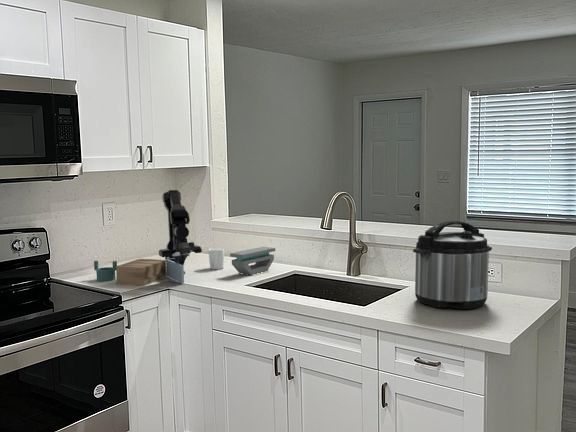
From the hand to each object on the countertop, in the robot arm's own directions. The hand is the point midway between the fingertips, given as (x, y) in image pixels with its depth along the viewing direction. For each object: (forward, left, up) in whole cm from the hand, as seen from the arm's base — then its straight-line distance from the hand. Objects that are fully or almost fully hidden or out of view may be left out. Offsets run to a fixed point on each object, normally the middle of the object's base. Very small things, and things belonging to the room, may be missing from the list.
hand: (181, 269), depth 267 cm
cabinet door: (0, -3, -5) cm, 6 cm away
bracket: (+7, -35, -5) cm, 36 cm away
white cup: (-31, +4, -5) cm, 32 cm away
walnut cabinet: (+4, -18, -5) cm, 19 cm away
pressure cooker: (+8, +119, -5) cm, 119 cm away
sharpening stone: (-27, +25, -5) cm, 37 cm away
